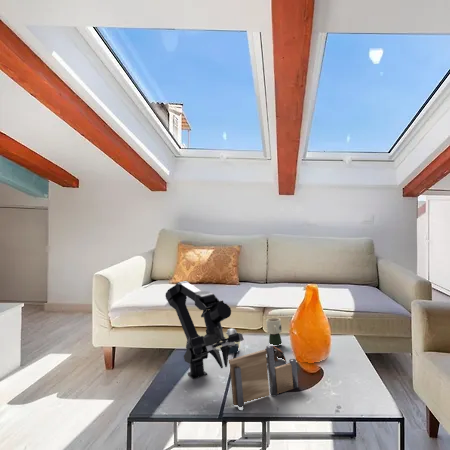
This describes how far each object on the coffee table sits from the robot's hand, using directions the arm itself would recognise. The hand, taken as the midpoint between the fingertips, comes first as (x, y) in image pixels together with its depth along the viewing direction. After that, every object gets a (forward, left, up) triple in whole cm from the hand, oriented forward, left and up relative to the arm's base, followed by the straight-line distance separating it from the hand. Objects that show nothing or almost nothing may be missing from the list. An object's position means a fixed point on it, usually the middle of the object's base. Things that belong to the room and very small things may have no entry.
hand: (224, 367), depth 140 cm
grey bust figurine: (-37, +23, -9) cm, 45 cm away
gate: (+13, +3, -9) cm, 16 cm away
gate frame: (+13, +10, -9) cm, 19 cm away
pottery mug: (-13, +30, -9) cm, 34 cm away
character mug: (-30, +43, -9) cm, 53 cm away
